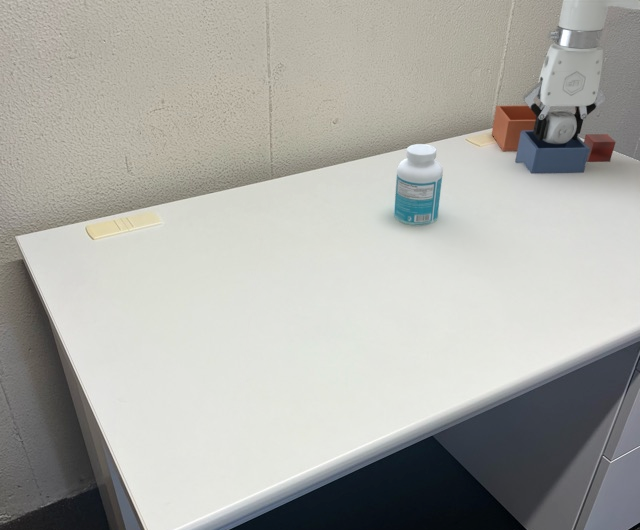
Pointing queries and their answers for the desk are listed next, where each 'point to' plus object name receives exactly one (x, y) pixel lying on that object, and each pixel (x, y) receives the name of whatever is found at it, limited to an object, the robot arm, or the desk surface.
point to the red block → (599, 147)
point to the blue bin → (551, 155)
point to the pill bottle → (418, 186)
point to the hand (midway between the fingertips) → (555, 136)
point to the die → (559, 126)
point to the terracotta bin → (512, 125)
